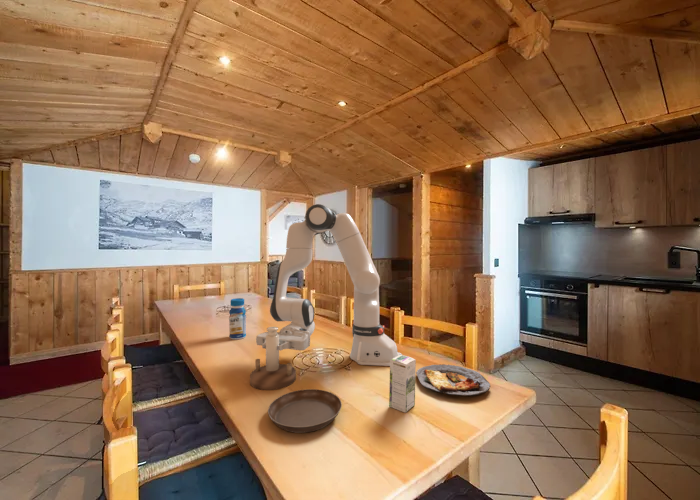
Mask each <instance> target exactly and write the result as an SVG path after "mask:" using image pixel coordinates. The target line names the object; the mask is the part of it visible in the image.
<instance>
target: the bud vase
mask: <svg viewBox="0 0 700 500" xmlns="http://www.w3.org/2000/svg"><path fill="white" fill-rule="evenodd" d="M278 331H279V327H278V326H268V327H267V328H266V332H268V335H266V349H265V366H266V370H267V371H276V370H278V369H279V364H280V350H277V345H279V334H277V332H278Z"/></svg>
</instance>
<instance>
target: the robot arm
mask: <svg viewBox="0 0 700 500" xmlns="http://www.w3.org/2000/svg"><path fill="white" fill-rule="evenodd" d="M327 231H328V232H330V233H331V235H332V236H333V239H334V241H335V242H336V246H337V247H338V250H339V252H340V255H341V257H342V259H343V261H344V262H343V263H344V264H345V266H346V269H347V272H348V274H349V277H350V280H351V282H352V284H353V324H352V328H351V329H352V330H351V334H352V337H353V338H352V344H351V350H350V354H349V357H350V359H351V360H352V361H354V362H356V363H357V364H358V365H362V366H363V365H364V366H381V367H382V366H384V367H390V360H391V359H393V358H395V357H397V356H399V355H403V354H402V353H401V352H398V346H397V343H396V342H395V340H393V339H392V338H391V337H390V336H388V335H387V334H385V325H383V324H382V325H381V323H380V283H381V278H380V275H379V273H378V271H377V268H376V266H375V264H374V262H373V259H372V257H371V255H370V252H369V250H368V248H367V246H366V243H365V241H364V239H363V236H362V234H361V232H360V230H359V227H358V226H357V224H356V222H355V220H354V219H353V217H351V215H350V214H349V213H347V212H340V213H337V214H336V213H335V212H334V211H332V210H331V209H330V208H329V207H327V206H326V205H324V204H320V203H318V204H317V203H316V204H315V203H314V204H313V205H311V206H309V207H308V209H307V210H306V211H305V215H304V220H303V221H299V222H293V223H292V224H290V225H289V227H288V229H287V237H286V247H285V249H286V250H285V251H286V252H285V255H284V258H283V260H282V261H280V262H279V264H278V266H277V267H278V268H277V270H276V271H277V272H276V277H275V284H274V291H273V296H272V301H271V303H270V306H269V307H270V308H269V314H270V315H271V317H272V319H273V320H274V321H276V322H291V323H289V324H287V325H285V326H283V327H282V328H281V329H280V330H279V332H278V331H277V334H279V345H277V350H279V352H280V351H283V350H294V351H305V350H306V349H308V348H309V347H310V346H311V336H312V334H313V333H314V332H315V328H316V324H315V321H314V319H315V307H314V306H313V303H312V302H311V300H309V299H308V298H289V297H287V290H288V284H289V278H290V277H291V276H292V275H293V274H295V273H297V272H299V271H302V270H304V269H306V268H307V267H309V265H310V264H311V263H312V260H313V255H314V254H313V253H314V249H313V246H314V245H313V244H314V243H313V241H314V236H316V235H320V234H324V233H325V232H327ZM266 335H268V331H264V332H262V333H259V334H257V335H256V338H255V340H256V342H255V343H256V345H257V346H262V349H265V350H266Z"/></svg>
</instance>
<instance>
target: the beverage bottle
mask: <svg viewBox="0 0 700 500" xmlns="http://www.w3.org/2000/svg"><path fill="white" fill-rule="evenodd" d="M244 306H245V298H243V297H242V298H241V297H237V298H231V299H230V309H229V311H228V313H229V316H228V320H229V321H228V322H229V323H228V326H229V335H228V336H229V337H228V338H229V339H230V340H234V341H235V340H242V339H245V338H246V336H247V315H246V313H247V311H246V308H245V307H244Z"/></svg>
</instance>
